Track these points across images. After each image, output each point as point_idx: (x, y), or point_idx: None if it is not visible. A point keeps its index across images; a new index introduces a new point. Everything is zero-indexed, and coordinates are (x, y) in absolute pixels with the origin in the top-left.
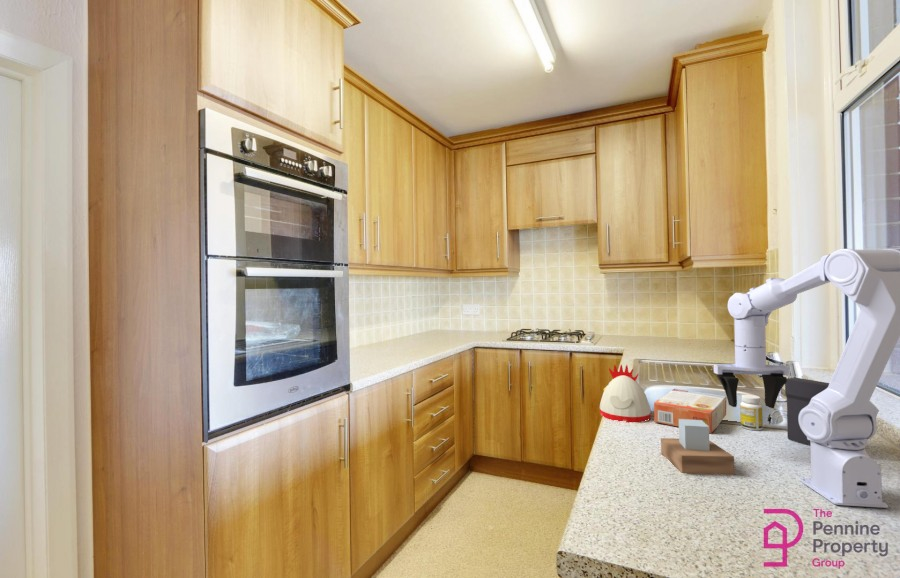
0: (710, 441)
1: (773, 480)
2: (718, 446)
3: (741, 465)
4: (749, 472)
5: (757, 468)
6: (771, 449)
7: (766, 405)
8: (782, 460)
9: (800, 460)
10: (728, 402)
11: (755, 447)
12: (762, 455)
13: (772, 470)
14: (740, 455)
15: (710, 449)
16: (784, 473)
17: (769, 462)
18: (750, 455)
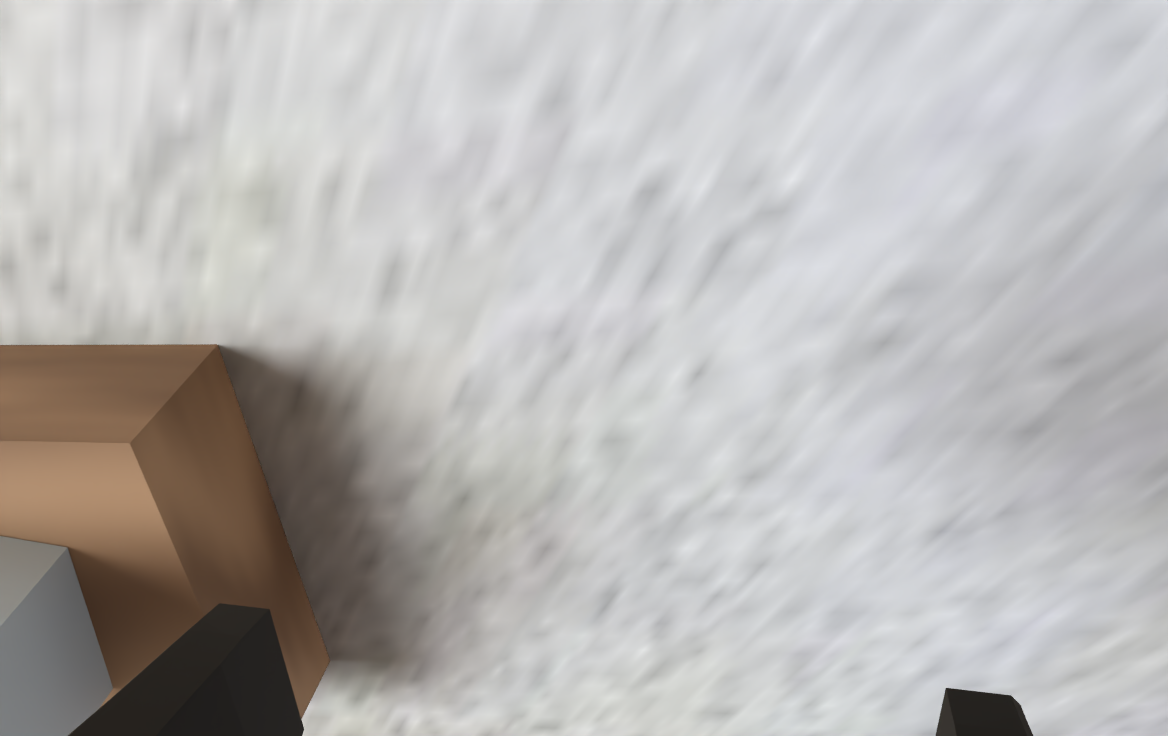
0: (150, 509)
1: (554, 731)
2: (201, 613)
3: (439, 536)
4: (448, 636)
5: (543, 583)
6: (1020, 137)
7: (940, 722)
8: (890, 440)
9: (1094, 436)
10: (188, 634)
11: (845, 82)
12: (764, 330)
13: (644, 613)
14: (526, 341)
15: (124, 664)
16: (706, 655)
17: (721, 483)
18: (631, 336)
